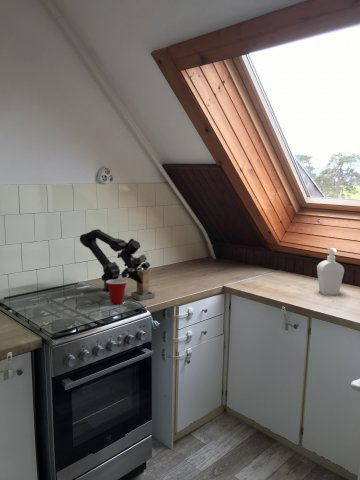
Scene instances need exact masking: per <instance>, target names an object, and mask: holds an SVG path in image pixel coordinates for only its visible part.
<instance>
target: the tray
mask: <svg viewBox="0 0 360 480" xmlns="http://www.w3.org/2000/svg"><path fill="white" fill-rule="evenodd" d="M155 296H156V295H155V292H152V291H150V290H149V294H146V295H138V294H137V290H136V291H132V292H131V293H130V297H131V298H133V299H135V300H137V301H138V302H142V301H147V300H151V299H155Z"/></svg>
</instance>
